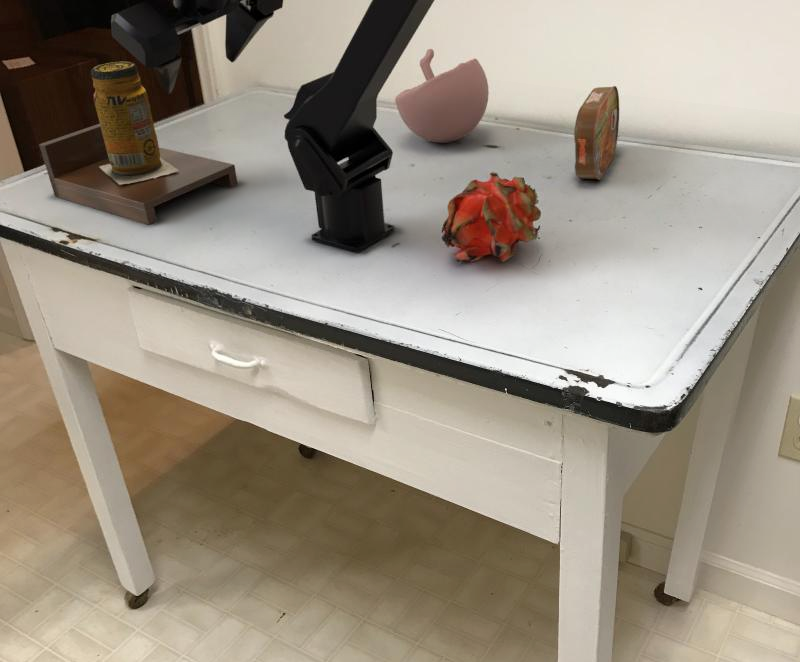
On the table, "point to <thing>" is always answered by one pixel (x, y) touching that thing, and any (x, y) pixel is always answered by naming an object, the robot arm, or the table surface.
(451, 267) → the table surface
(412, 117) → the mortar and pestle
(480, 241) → the dragon fruit
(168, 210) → the table surface
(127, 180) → the condiment
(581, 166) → the tin
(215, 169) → the shelf
